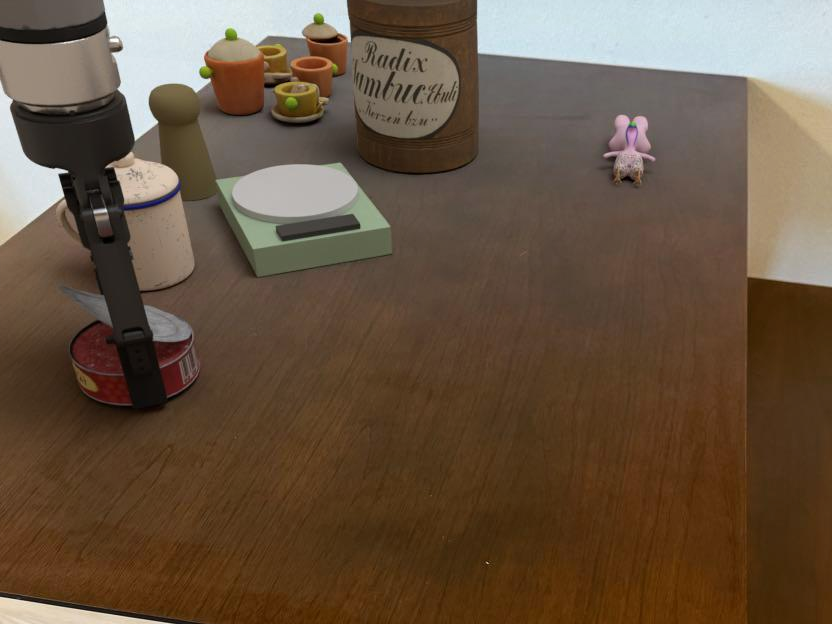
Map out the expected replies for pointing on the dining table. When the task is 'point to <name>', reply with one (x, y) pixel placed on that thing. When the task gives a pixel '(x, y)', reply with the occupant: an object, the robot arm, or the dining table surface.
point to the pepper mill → (183, 139)
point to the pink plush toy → (629, 147)
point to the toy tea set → (276, 73)
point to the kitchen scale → (302, 218)
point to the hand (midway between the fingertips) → (139, 368)
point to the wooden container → (415, 82)
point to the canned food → (102, 362)
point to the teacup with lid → (149, 223)
